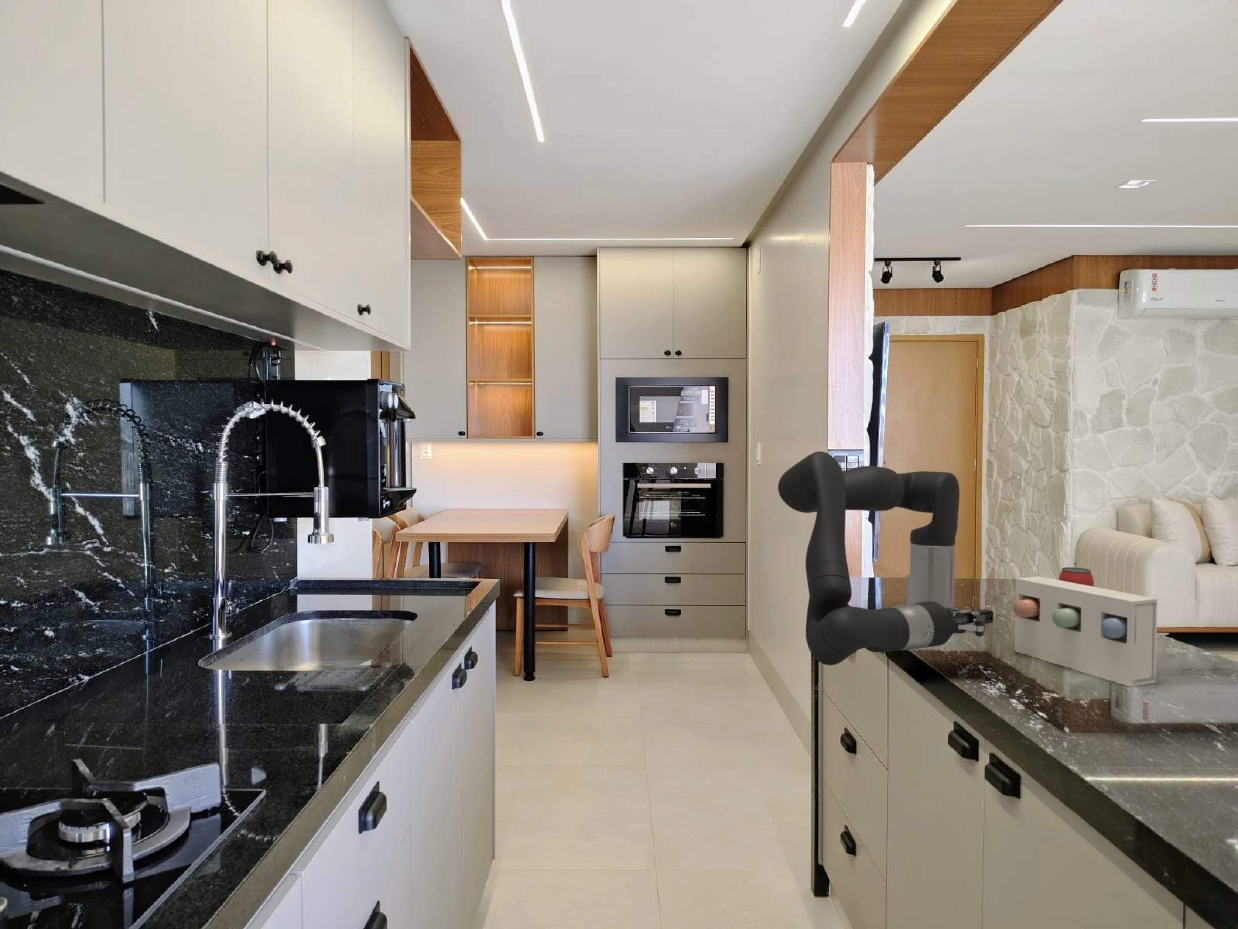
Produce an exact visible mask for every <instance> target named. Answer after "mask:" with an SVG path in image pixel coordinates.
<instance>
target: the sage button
mask: <svg viewBox="0 0 1238 929" xmlns="http://www.w3.org/2000/svg"><path fill="white" fill-rule="evenodd" d="M1052 620H1053V622H1054V624H1055V625H1056V626H1058V627H1060V628H1065V627H1073V626H1079V625H1081V611H1080V610H1079V609H1077V608H1065V609H1057V610H1055V611H1054V612H1053V614H1052Z"/></svg>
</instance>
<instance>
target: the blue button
mask: <svg viewBox="0 0 1238 929" xmlns="http://www.w3.org/2000/svg"><path fill="white" fill-rule="evenodd" d="M1101 630H1102V632H1103V634H1104V635H1105V636H1107V637H1108V638H1119V637H1126V636H1127V618H1126V617H1117V618H1109V619H1105V620H1103V621H1102V623H1101Z"/></svg>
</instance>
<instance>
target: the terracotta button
mask: <svg viewBox="0 0 1238 929" xmlns="http://www.w3.org/2000/svg"><path fill="white" fill-rule="evenodd" d="M1012 609H1013V612H1014V615H1015V614H1016V615H1017V616H1018V617H1020V618H1025V617H1033V616H1039V615H1040V602H1039V601H1038V600H1037V599H1026V600H1018V601H1016V602H1015V601H1014V603H1013V606H1012Z"/></svg>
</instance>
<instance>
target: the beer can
mask: <svg viewBox="0 0 1238 929" xmlns="http://www.w3.org/2000/svg"><path fill="white" fill-rule="evenodd" d="M1060 571H1061V572H1060V574H1059V575H1058V580H1060V581H1066V582H1071V583H1076V584H1082V585H1087V586H1092V587H1095V586H1094V585H1095V584H1094V583H1095V580H1094V577H1093V575H1092V570H1091V569H1089V568H1084V567H1070V566H1069V567H1062V568H1061V570H1060Z"/></svg>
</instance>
